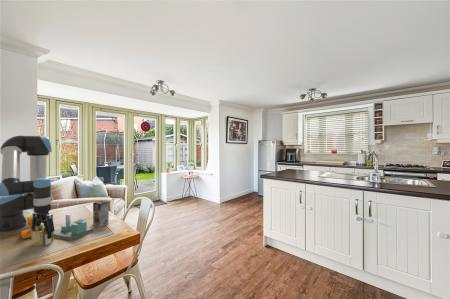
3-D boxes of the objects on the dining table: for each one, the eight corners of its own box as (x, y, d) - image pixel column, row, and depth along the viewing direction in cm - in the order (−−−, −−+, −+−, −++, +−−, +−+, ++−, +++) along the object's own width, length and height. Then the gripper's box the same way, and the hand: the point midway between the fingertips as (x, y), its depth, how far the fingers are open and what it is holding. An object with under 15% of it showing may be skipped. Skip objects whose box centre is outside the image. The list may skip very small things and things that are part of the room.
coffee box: (92, 224, 143) (92, 202, 143) (101, 221, 149) (101, 200, 149) (100, 226, 139) (100, 204, 139) (109, 223, 145) (109, 201, 145)
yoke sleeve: (31, 244, 114) (31, 227, 113) (45, 239, 120) (45, 223, 120) (39, 246, 111) (39, 229, 111) (53, 241, 118) (53, 224, 118)
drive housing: (48, 236, 125) (48, 217, 124) (71, 227, 138) (71, 210, 138) (71, 240, 119) (71, 221, 118) (93, 231, 132) (93, 213, 132)
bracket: (21, 235, 126) (21, 216, 126) (36, 231, 132) (36, 213, 131) (23, 240, 119) (23, 220, 119) (39, 236, 125) (39, 217, 125)
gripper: (22, 204, 115) (22, 242, 115) (47, 208, 109) (47, 248, 109) (38, 201, 122) (38, 237, 123) (62, 204, 116) (62, 242, 116)
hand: (42, 242), depth 116 cm, fingers open, 9 cm apart
